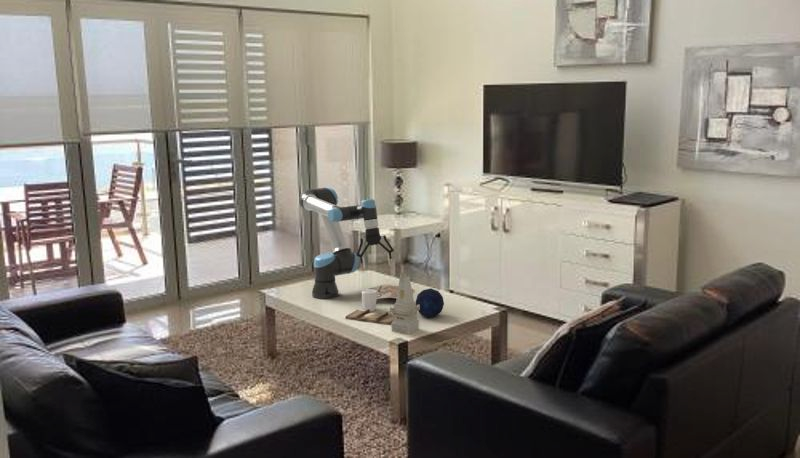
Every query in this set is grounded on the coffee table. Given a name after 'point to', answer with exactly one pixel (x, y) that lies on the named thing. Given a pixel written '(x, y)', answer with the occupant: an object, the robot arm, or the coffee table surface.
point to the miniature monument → (405, 307)
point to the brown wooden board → (371, 317)
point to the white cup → (369, 299)
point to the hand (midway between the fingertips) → (377, 267)
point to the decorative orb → (430, 302)
